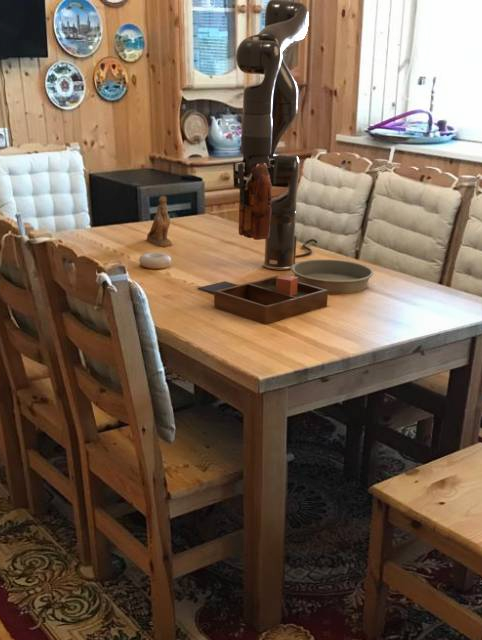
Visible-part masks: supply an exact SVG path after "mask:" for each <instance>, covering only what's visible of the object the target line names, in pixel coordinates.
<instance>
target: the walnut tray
mask: <svg viewBox="0 0 482 640" xmlns="http://www.w3.org/2000/svg"><path fill="white" fill-rule="evenodd" d="M277 277H280V275H274V276H271V277H267V278H263V279H259V280H254V281H250V282H246V283H242V284H236V285H237V286H233V287H229V288H225V289H221V290H217V291H214V294H213V308H215V309H218V310H221V311H224V312H227V313H229V314H233V315H235V316H238V317H241V318H244V319H248V320H252V321H254V322H256V323H257V322H258V323H261V324H263V325H267V324H268V325H269V324H271V323H275V322H279V321H281V320H285V319H288V318H292V317H294V316H299V315H301V314H305V313H308V312H312V311H315V310H318V309H322V308H325V307H328V298H329V294H328V290H326V289H323V288H319V287H315V286H312V285H308V284H305V283H301V282H298V285H297V294H295V295H293V296H291V295H288V294H284V293H281V292H277V291H276V278H277Z"/></svg>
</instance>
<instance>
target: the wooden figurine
mask: <svg viewBox="0 0 482 640" xmlns="http://www.w3.org/2000/svg"><path fill="white" fill-rule="evenodd" d="M257 164H259V166H257V167H256V168H255V166H253V167H252V169H251V172H250V173H249V174H247V175H246V173H245V175H244V176H245V177H250V175H251V173H252V174H253V178H254V180H253V182H251V185H250V187H249V190H248V191H249V205H248V206H246V207H245V206H241V204H240V201H239V203H238V235H240V236H242V237H245V238H247V239H253V240H254V241H260V240H265V239H267V238H269V232H270V219H271V204H272V203H271V199H272V197H273V189H272V188H273V187H272V185H271V181H270V178H269V177H268V169H267V168H266V166H265V165H263V164H262V163H257ZM246 182H247V181H246ZM246 182H245V185H246Z"/></svg>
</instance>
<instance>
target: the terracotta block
mask: <svg viewBox="0 0 482 640" xmlns="http://www.w3.org/2000/svg"><path fill="white" fill-rule="evenodd" d="M297 285H298V277H295V275H294V276H293V275H287V274H282V275H279V277H277V278H276V291H277V292H281V293H284V294H288V295H291V296H293V295H295V294H297Z"/></svg>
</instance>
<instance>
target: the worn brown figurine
mask: <svg viewBox="0 0 482 640" xmlns="http://www.w3.org/2000/svg"><path fill="white" fill-rule="evenodd" d="M167 201H168V199H167V196H166V195H165V194H162V195H160V196H159V197H158V202H159V204H157V207H156V213H155V215H154V218H153V222H152V224H151V227H150V230H149V231H148V233H147V236H146V241H148V242H149V243H151V244H154V246H155V245H156V246H158V247H169V246H170V247H171V246H172V241H171V239H169V238H168V233H169V228H170V225H171V216H170V214H169V213H168V212H169V211H168V209H169V206H168V204H167Z"/></svg>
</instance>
